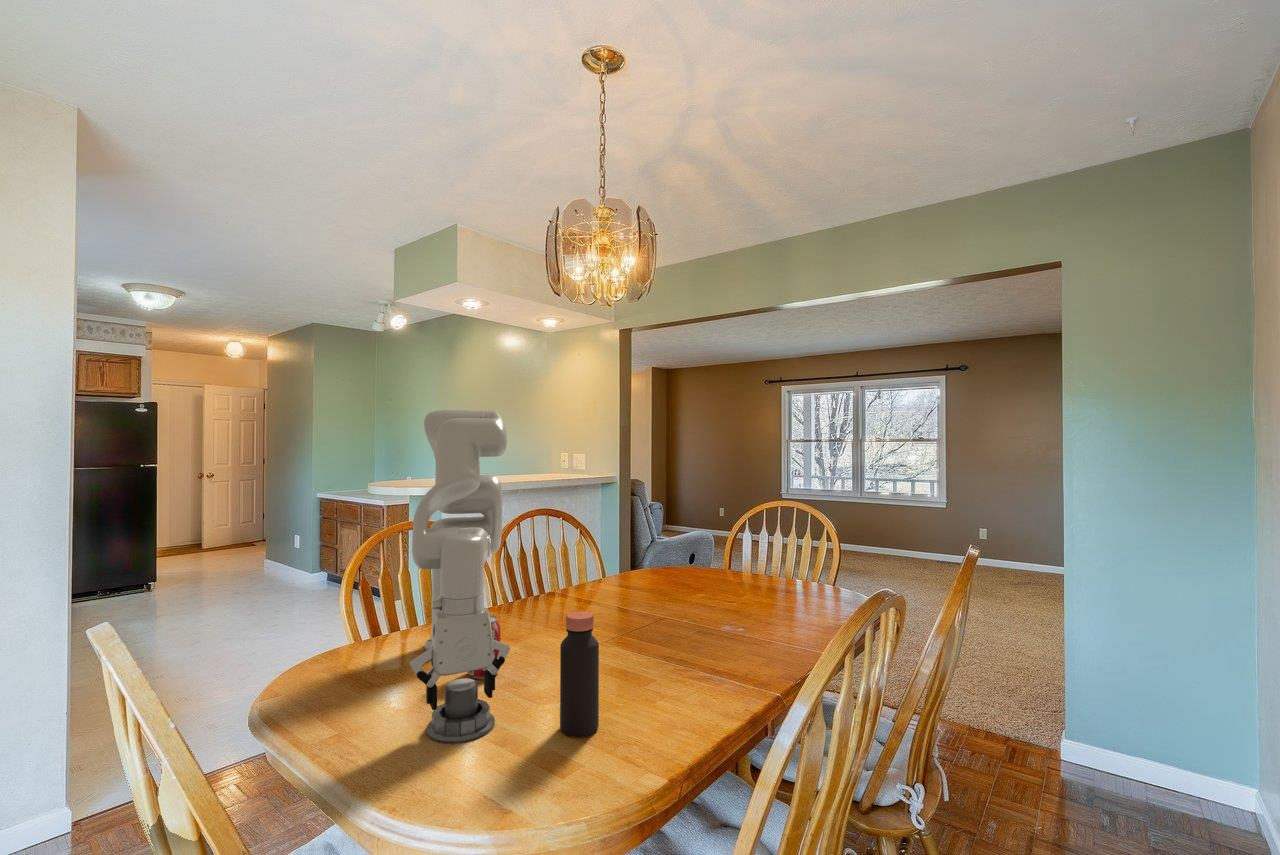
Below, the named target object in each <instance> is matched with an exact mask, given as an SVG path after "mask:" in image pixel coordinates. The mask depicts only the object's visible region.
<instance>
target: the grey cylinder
mask: <svg viewBox="0 0 1280 855" xmlns="http://www.w3.org/2000/svg"><path fill="white" fill-rule="evenodd" d="M478 688H479V683H478V682H476V681H475V680H474V679H472V678H459V679H458V678H457V679H454V680H452V681H451V680H450V682H448V683H447V684H446V685H445V686H444V703H445V718H447V719H465V718H469V717H472V716H474V715H476V714H478V699H479V696H478V694H479V693H478V692H479V689H478Z"/></svg>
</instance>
